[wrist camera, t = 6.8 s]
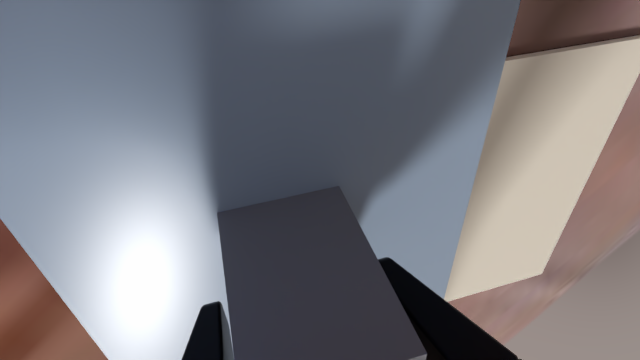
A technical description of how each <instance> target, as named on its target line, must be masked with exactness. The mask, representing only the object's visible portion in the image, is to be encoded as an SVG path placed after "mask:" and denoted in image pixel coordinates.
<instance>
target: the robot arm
mask: <svg viewBox="0 0 640 360" xmlns="http://www.w3.org/2000/svg"><path fill="white" fill-rule="evenodd" d="M378 261H379V263H380V265H381V267H382V268H383V270H384V272H385V274H386V276H387V278H388V280H389V282H390V284H391V286H392V287H393V289H394V291H395V293H396V295H397V297H398V299H399V301H400V303H401V305H402V306H403V308H404V310H405V312H406V314H407V316H408V318H409V320H410V322H411V324H412V325H413V327H414V329H415V331H416V333H417V335H418V337H419V339H420V341H421V343H422V345H423V346H424V348H425V350H426V352H427V357H426V360H522V359H518V358H517V356H516V355H515V354H514V353H512V352H511V351H510V350H508V349H507V348H506V347H504V346H503V345H502V344H501V343H499V342H498V341H497V340H496V339H494V338H493V337H492V336H490V335H489V334H488V333H487V332H485V331H484V330H483V329H481V328H480V327H479V326H478V325H476V324H475V323H474V322H472V321H471V320H470V319H468V318H467V317H466V316H465V315H463V314H462V313H461V312H459V311H458V310H457V309H456V308H454V307H453V306H452V305H450V304H449V303H448V302H447V301H445V300H444V299H443V298H441V297H440V296H439V295H438V294H436V293H435V292H434V291H432V290H431V289H430V288H429V287H427V286H426V285H425V284H423V283H422V282H421V281H420V280H418V279H417V278H416V277H414V276H413V275H412V274H411V273H409V272H408V271H407V270H405V269H404V268H403V267H401V266H400V265H399V264H398V263H396V262H395V261H394V260H392V259H391V258H389V257H384V258H381V259H378ZM181 360H234V355H233V348H232V342H231V335H230V329H229V324H228V321H227V318H226V315H225V312H224V309H223V306H222V303H221V302H220V301H216V302H212V303H209V304H205V305H203V306H202V307H201V309H200V311H199V314H198V317H197V319H196V322H195V325H194V327H193V330H192V333H191V335H190V338H189V341H188V343H187V346H186V349H185V351H184V354H183V357H182V359H181Z"/></svg>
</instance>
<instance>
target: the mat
mask: <svg viewBox="0 0 640 360" xmlns="http://www.w3.org/2000/svg"><path fill="white" fill-rule="evenodd" d="M639 73H640V35H637V36H631V37H625V38H619V39H613V40H607V41H601V42H595V43H589V44H583V45H577V46H571V47H565V48H559V49H553V50H547V51H541V52H535V53H529V54H523V55H517V56H511V57H506V59H505V63H504V67H503V71H502V75H501V79H500V82H499V86H498V90H497V94H496V98H495V102H494V106H493V110H492V114H491V118H490V121H489V125H488V129H487V133H486V137H485V141H484V145H483V149H482V153H481V156H480V160H479V164H478V168H477V172H476V176H475V180H474V184H473V188H472V192H471V195H470V199H469V203H468V207H467V211H466V215H465V219H464V223H463V227H462V230H461V234H460V238H459V242H458V246H457V250H456V254H455V258H454V262H453V266H452V269H451V273H450V277H449V281H448V285H447V289H446V293H445V297H444V300H445V301H447V302H448V301H452V300H455V299H458V298H462V297H465V296H469V295H472V294H475V293H479V292H482V291H486V290H489V289H492V288H496V287H499V286H503V285H506V284H509V283H513V282H516V281H520V280H523V279H526V278H530V277H533V276H537V275H540V274H542V272H543V270H544V268H545V266H546V264H547V262H548V260H549V258H550V256H551V254H552V252H553V250H554V248H555V246H556V244H557V242H558V239H559V237H560V235H561V233H562V231H563V229H564V227H565V225H566V223H567V221H568V219H569V217H570V215H571V213H572V211H573V209H574V207H575V204H576V202H577V200H578V198H579V196H580V194H581V192H582V190H583V188H584V186H585V184H586V182H587V180H588V178H589V176H590V174H591V172H592V169H593V167H594V165H595V163H596V161H597V159H598V157H599V155H600V153H601V151H602V149H603V147H604V145H605V143H606V141H607V139H608V137H609V134H610V132H611V130H612V128H613V126H614V124H615V122H616V120H617V118H618V116H619V114H620V112H621V110H622V108H623V106H624V104H625V102H626V99H627V97H628V95H629V93H630V91H631V89H632V87H633V85H634V83H635V81H636V79H637V77H638V75H639Z"/></svg>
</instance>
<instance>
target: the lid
mask: <svg viewBox="0 0 640 360" xmlns="http://www.w3.org/2000/svg"><path fill="white" fill-rule="evenodd" d="M520 1H521V0H0V218H1V220H2V221H3V222H4V224H5V225H6V226H7V228H8V229H9V230H10V231H11V233H12V234H13V235H14V237H15V238H16V239H17V241H18V242H19V243H20V244H21V246H22V247H23V248H24V250H25V251H26V252H27V254H28V255H29V256H30V258H31V259H32V260H33V261H34V263H35V264H36V265H37V267H38V268H39V269H40V271H41V272H42V273H43V275H44V276H45V277H46V278H47V280H48V281H49V282H50V284H51V285H52V286H53V288H54V289H55V290H56V292H57V293H58V294H59V295H60V297H61V298H62V299H63V301H64V302H65V303H66V305H67V306H68V307H69V309H70V310H71V311H72V312H73V314H74V315H75V316H76V318H77V319H78V320H79V322H80V323H81V324H82V325H83V327H84V328H85V329H86V331H87V332H88V333H89V335H90V336H91V337H92V339H93V340H94V341H95V342H96V344H97V345H98V346H99V348H100V349H101V350H102V352H103V353H104V354H105V356H106V357H107V358H108V359H109V360H181V359H182V357H183V354H184V351H185V349H186V346H187V343H188V341H189V338H190V335H191V333H192V330H193V327H194V325H195V322H196V319H197V317H198V314H199V311H200V309H201V307H202V306H203V305H205V304H209V303H212V302H216V301H220V302H221V303H222V306H223V309H224V312H225V315H226V318H227V321H228V324H229V329H230V335H231V342H232V348H233V355H234V360H426V357H427V352H426V350H425V348H424V346H423V345H422V343H421V341H420V339H419V337H418V335H417V333H416V331H415V329H414V327H413V325H412V324H411V322H410V320H409V318H408V316H407V314H406V312H405V310H404V308H403V306H402V305H401V303H400V301H399V299H398V297H397V295H396V293H395V291H394V289H393V287H392V286H391V284H390V282H389V280H388V278H387V276H386V274H385V272H384V270H383V268H382V267H381V265H380V263H379V261H378V259H381V258H384V257H389V258H391V259H392V260H394V261H395V262H396V263H398V264H399V265H400V266H401V267H403V268H404V269H405V270H407V271H408V272H409V273H411V274H412V275H413V276H414V277H416V278H417V279H418V280H420V281H421V282H422V283H423V284H425V285H426V286H427V287H429V288H430V289H431V290H432V291H434V292H435V293H436V294H438V295H439V296H440V297H441V298H443V299H444V297H445V293H446V289H447V285H448V281H449V277H450V273H451V269H452V266H453V262H454V258H455V254H456V250H457V246H458V242H459V238H460V234H461V230H462V227H463V223H464V219H465V215H466V211H467V207H468V203H469V199H470V195H471V192H472V188H473V184H474V180H475V176H476V172H477V168H478V164H479V160H480V156H481V153H482V149H483V145H484V141H485V137H486V133H487V129H488V125H489V121H490V118H491V114H492V110H493V106H494V102H495V98H496V94H497V90H498V86H499V82H500V79H501V75H502V71H503V67H504V63H505V59H506V55H507V51H508V47H509V44H510V40H511V36H512V32H513V28H514V24H515V20H516V16H517V12H518V8H519V5H520Z"/></svg>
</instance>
